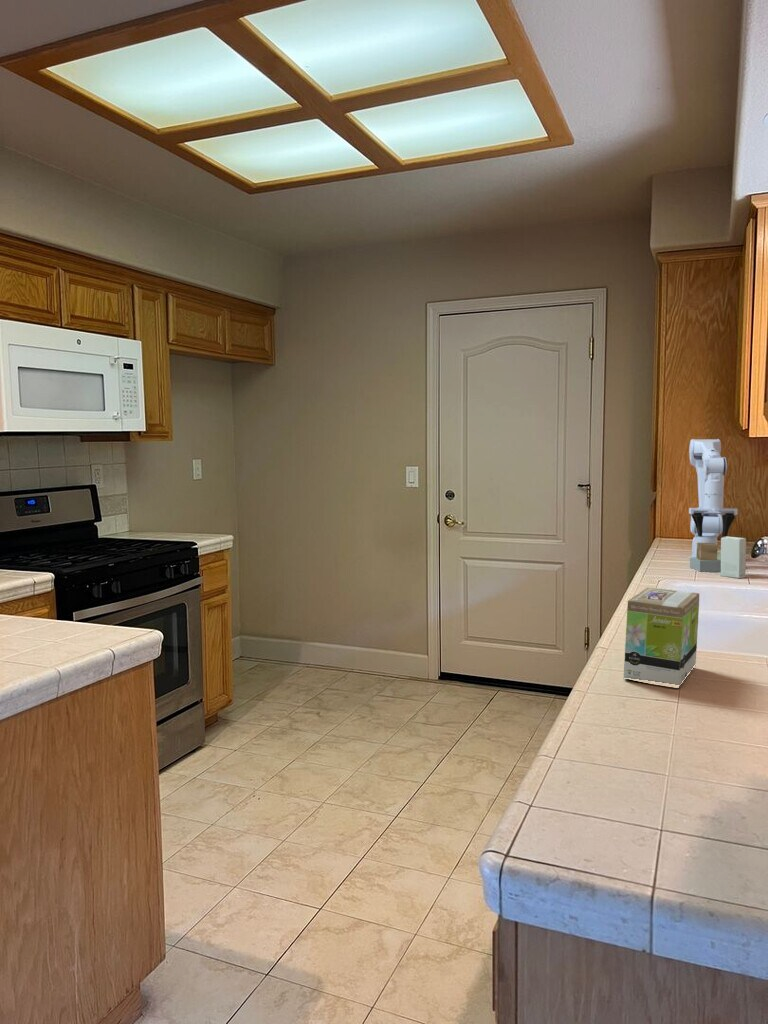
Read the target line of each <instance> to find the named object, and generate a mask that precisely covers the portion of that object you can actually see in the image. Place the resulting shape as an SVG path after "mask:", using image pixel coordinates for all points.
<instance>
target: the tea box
mask: <svg viewBox="0 0 768 1024" xmlns="http://www.w3.org/2000/svg"><path fill="white" fill-rule="evenodd" d="M626 610H627V611H626V612H627V613H626V627H625V645H624V663H623V664H624V665H623V679H624V678H631V679H639V680H648V681H655V682H662V683H669V684H675V685H680V684H681V683H682V681H683V680H684V679H685V677H686V676H687V674H688V673H689V672H690V671H691V669H692V668H693V666H694V665H695V664H697V649H698V647H697V646H698V628H699V611H700V593H698V592H691V591H682V590H673V589H665V588H664V589H663V588H657V587H656V588H655V587H646V588H645V589H643V590H641V591H640V592H638V593H637V594H636V595H634V596H633V597H631V598H629V599H628V600H627V608H626ZM695 666H696V665H695Z"/></svg>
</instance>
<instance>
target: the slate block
mask: <svg viewBox="0 0 768 1024" xmlns="http://www.w3.org/2000/svg"><path fill="white" fill-rule="evenodd" d="M689 557H690V558H689V569H690V568H691V569H690V570H692V569H694V570H697V571H699V572H709V573H721V560H718V559H717V560H699V559H698V558H696V557H692V556H689ZM694 570H693V571H694ZM697 571H696V572H697ZM699 572H698V573H699Z"/></svg>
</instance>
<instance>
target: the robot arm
mask: <svg viewBox="0 0 768 1024" xmlns="http://www.w3.org/2000/svg"><path fill="white" fill-rule="evenodd" d="M688 451H689V462H690V465H691V466H693V467H695V471H696V476H697V493H698V494H697V496H698V507H689V508H688V515H690V529H689V530H690V533H691V534H692V535H694V537H693V538H692V543H691V556H688V559H690V557H696V554H697V542H700V543H715V544H717V545H718V537H719V536H720V535H722V538H723V537H727V536H728V533H729V530H730V527H731V525H732V523H733V522H734V520H735V518H736V515H737V516H738V511H739V509H738V508H735V507H733V508H729V507H725V508H724V490H725V489H724V486H725V485H724V483H725V475H726V474H727V467H728V466H727V459H726V456H723V457H722V456H721V452H722V442H721V440H720V439H719V438H716V439H714V438H713V439H708V438H707V439H694V438H692V439H690V441H689V449H688Z"/></svg>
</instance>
